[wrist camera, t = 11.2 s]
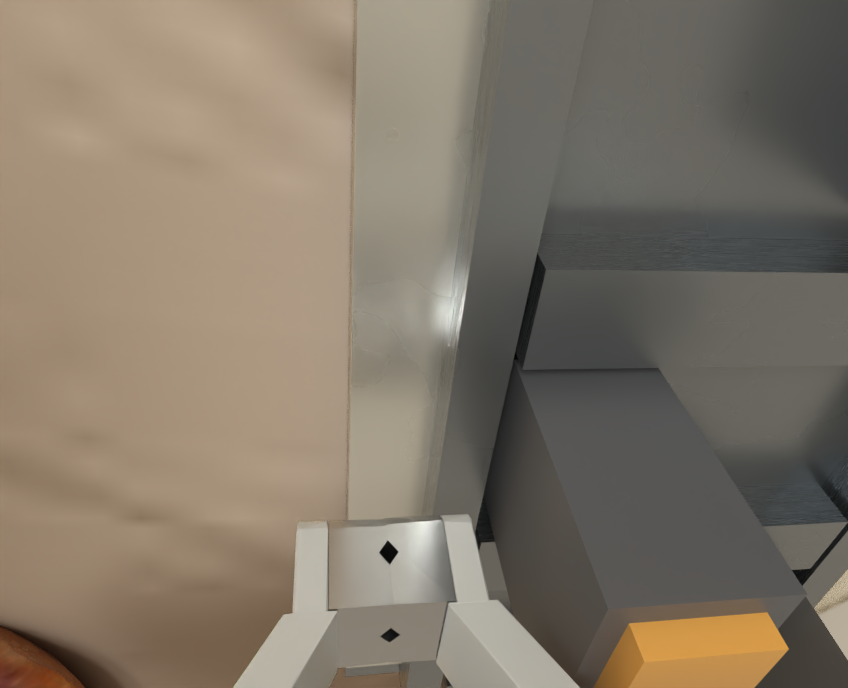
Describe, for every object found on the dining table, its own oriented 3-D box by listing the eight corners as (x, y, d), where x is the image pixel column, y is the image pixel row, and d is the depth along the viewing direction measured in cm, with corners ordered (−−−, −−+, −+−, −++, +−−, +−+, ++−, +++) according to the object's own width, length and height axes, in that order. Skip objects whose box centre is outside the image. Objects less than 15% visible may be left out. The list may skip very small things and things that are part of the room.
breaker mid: (513, 359, 12) (623, 648, 7) (652, 357, 12) (831, 631, 8) (483, 495, 14) (551, 773, 10) (599, 489, 14) (714, 754, 10)
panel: (359, -343, 7) (370, -419, 5) (1368, -182, 9) (1636, -194, 7) (344, 639, 20) (345, 718, 18) (757, 606, 22) (797, 674, 21)
